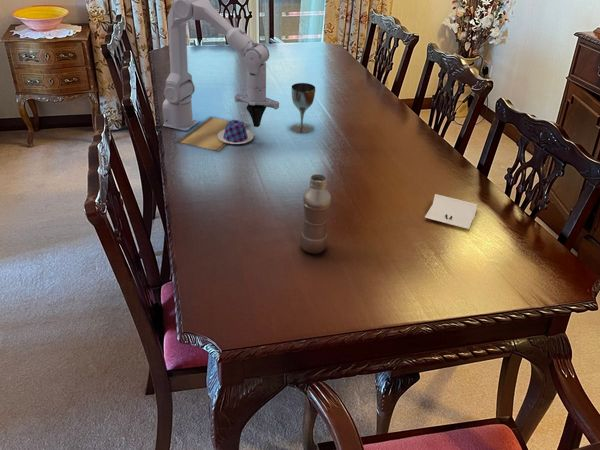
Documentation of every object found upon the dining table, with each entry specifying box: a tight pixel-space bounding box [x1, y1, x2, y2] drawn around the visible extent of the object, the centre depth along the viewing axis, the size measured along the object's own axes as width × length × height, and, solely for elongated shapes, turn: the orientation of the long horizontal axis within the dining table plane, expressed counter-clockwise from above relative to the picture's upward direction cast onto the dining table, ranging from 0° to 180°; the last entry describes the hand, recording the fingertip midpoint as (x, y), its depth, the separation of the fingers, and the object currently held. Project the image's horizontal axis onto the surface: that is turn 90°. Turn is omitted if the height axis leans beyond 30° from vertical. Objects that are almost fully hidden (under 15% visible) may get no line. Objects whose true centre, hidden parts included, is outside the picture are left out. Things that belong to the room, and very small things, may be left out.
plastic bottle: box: [299, 173, 332, 255], centre depth 130 cm, size 6×7×20 cm
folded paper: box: [424, 193, 478, 230], centre depth 150 cm, size 12×12×2 cm
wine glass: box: [290, 82, 316, 134], centre depth 189 cm, size 8×8×15 cm
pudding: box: [217, 119, 255, 145], centre depth 183 cm, size 12×12×5 cm
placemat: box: [177, 117, 249, 152], centre depth 187 cm, size 15×22×1 cm
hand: (256, 125), depth 179 cm, fingers closed
